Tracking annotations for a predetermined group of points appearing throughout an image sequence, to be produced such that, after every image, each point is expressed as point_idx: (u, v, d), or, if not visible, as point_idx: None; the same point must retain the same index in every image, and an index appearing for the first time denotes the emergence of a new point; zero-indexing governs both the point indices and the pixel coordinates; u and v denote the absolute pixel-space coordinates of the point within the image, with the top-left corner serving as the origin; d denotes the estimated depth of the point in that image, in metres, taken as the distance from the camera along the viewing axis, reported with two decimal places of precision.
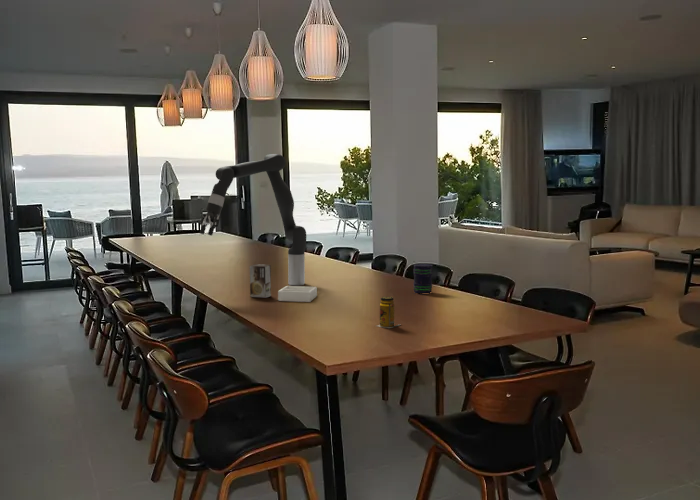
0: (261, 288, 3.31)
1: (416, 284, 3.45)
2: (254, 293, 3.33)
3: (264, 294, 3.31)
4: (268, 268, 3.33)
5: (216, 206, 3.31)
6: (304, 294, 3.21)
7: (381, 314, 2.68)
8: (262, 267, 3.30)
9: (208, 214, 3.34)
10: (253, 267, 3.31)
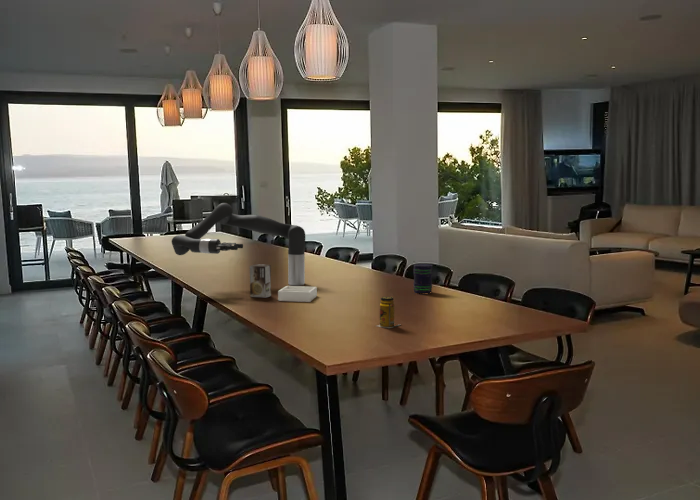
0: (261, 288, 3.31)
1: (416, 284, 3.45)
2: (254, 293, 3.33)
3: (264, 294, 3.31)
4: (268, 268, 3.33)
5: (210, 248, 3.35)
6: (304, 294, 3.21)
7: (381, 314, 2.68)
8: (262, 267, 3.30)
9: None
10: (253, 267, 3.31)
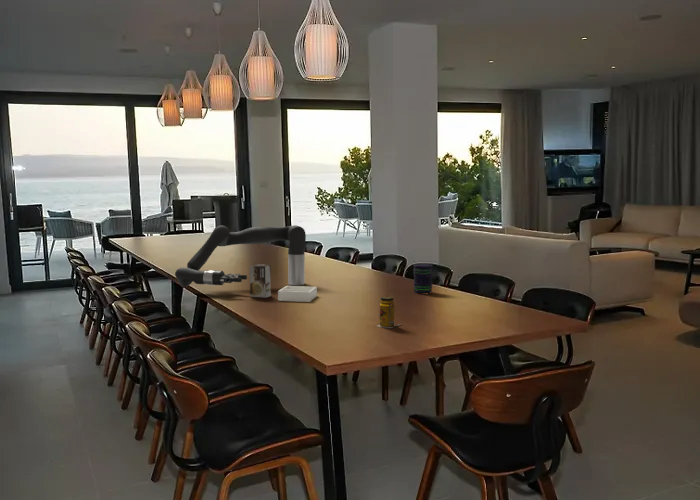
0: (261, 288, 3.31)
1: (416, 284, 3.45)
2: (254, 293, 3.33)
3: (264, 294, 3.31)
4: (268, 268, 3.33)
5: (214, 280, 3.35)
6: (304, 294, 3.21)
7: (381, 314, 2.68)
8: (262, 267, 3.30)
9: None
10: (253, 267, 3.31)
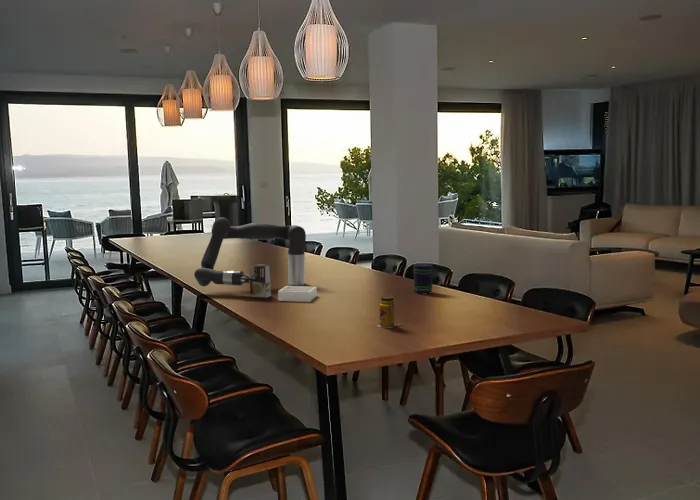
0: (261, 288, 3.31)
1: (416, 284, 3.45)
2: (254, 293, 3.33)
3: (264, 294, 3.31)
4: (268, 268, 3.33)
5: (233, 281, 3.33)
6: (304, 294, 3.21)
7: (381, 314, 2.68)
8: (262, 267, 3.30)
9: None
10: (253, 267, 3.31)
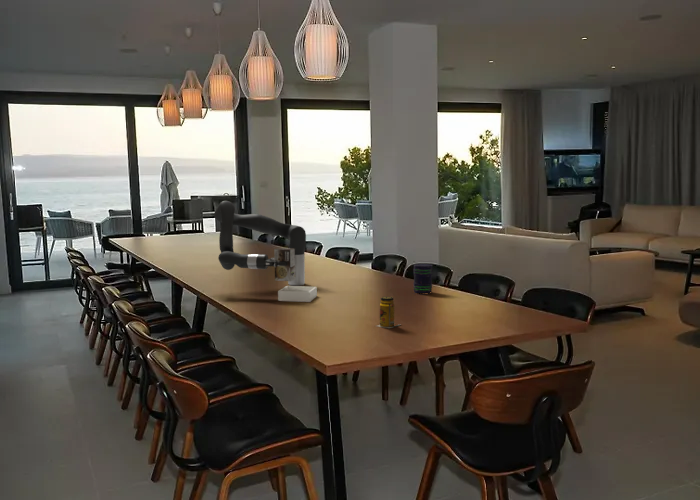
0: (286, 272, 3.29)
1: (416, 284, 3.45)
2: (279, 277, 3.30)
3: (289, 278, 3.28)
4: (293, 252, 3.30)
5: (258, 264, 3.30)
6: (304, 294, 3.21)
7: (381, 314, 2.68)
8: (287, 250, 3.27)
9: None
10: (278, 250, 3.29)
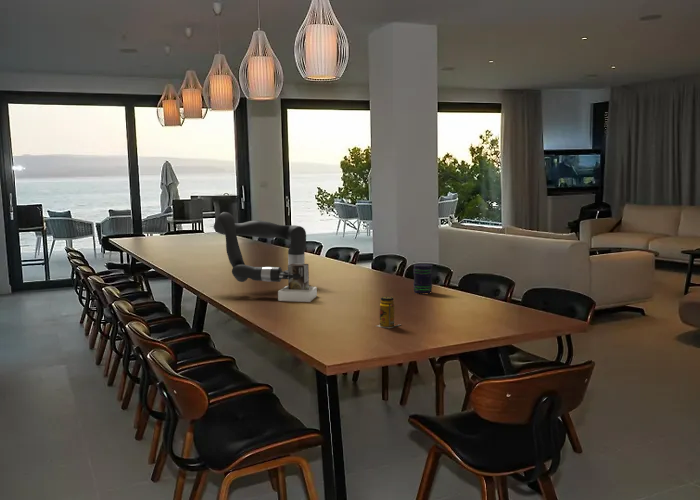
0: (300, 288, 3.28)
1: (416, 284, 3.45)
2: None
3: None
4: (306, 267, 3.30)
5: (272, 277, 3.30)
6: (304, 294, 3.21)
7: (381, 314, 2.68)
8: (301, 266, 3.27)
9: None
10: (291, 266, 3.29)
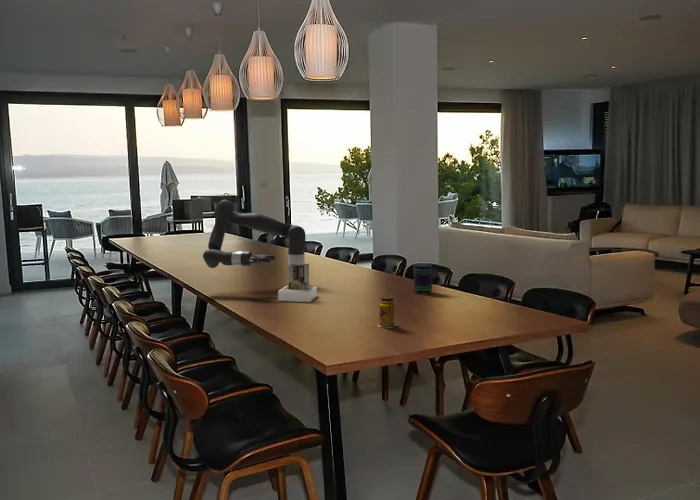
0: (300, 288, 3.29)
1: (416, 284, 3.45)
2: None
3: None
4: (307, 267, 3.30)
5: (242, 261, 3.35)
6: (304, 294, 3.21)
7: (381, 314, 2.68)
8: (301, 266, 3.27)
9: None
10: (292, 266, 3.29)
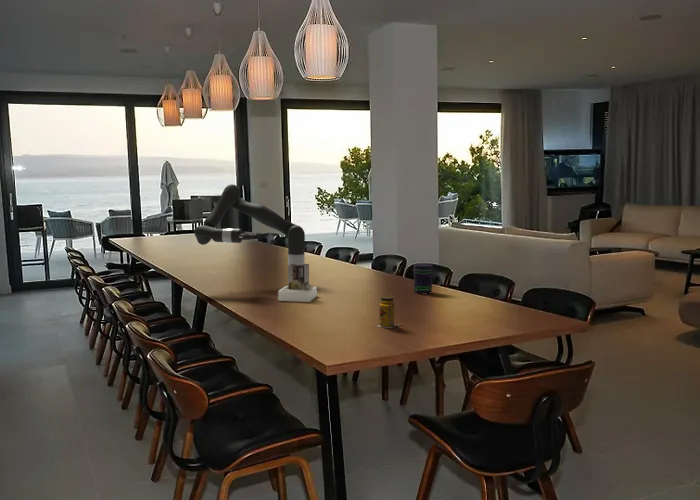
0: (300, 288, 3.29)
1: (416, 284, 3.45)
2: None
3: None
4: (307, 267, 3.30)
5: (232, 238, 3.39)
6: (304, 294, 3.21)
7: (381, 314, 2.68)
8: (301, 266, 3.27)
9: None
10: (292, 266, 3.29)
